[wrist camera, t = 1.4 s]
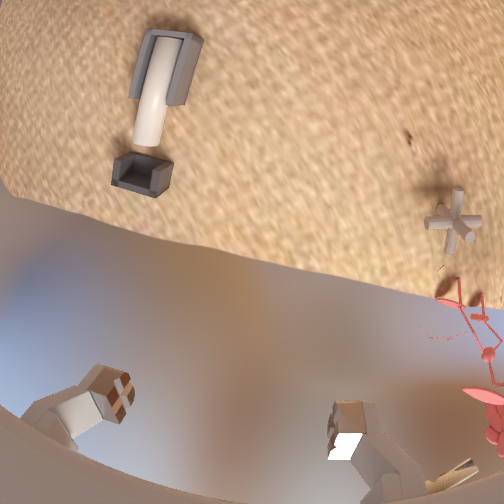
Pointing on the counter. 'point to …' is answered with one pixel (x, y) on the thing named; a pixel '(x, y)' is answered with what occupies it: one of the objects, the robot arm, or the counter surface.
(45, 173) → the counter surface
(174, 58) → the slip tube
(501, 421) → the figurine
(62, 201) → the counter surface
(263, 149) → the counter surface
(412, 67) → the counter surface
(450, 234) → the pipe connector
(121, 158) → the socket
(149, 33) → the sleeve
